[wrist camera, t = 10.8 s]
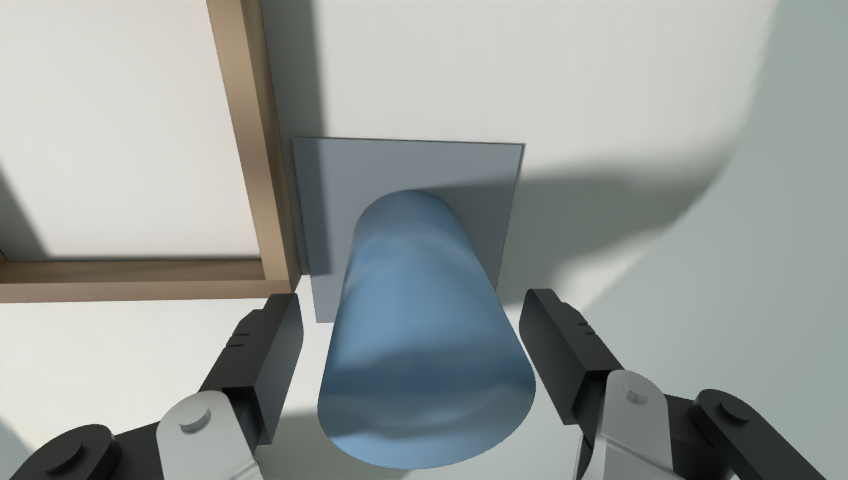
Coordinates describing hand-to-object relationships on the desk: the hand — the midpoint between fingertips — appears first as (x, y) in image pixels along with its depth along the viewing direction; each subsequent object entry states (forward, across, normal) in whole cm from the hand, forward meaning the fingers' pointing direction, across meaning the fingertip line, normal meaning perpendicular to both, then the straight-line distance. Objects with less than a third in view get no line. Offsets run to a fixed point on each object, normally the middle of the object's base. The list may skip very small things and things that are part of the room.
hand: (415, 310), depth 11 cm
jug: (+5, 0, +1) cm, 5 cm away
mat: (+6, 0, 0) cm, 6 cm away
